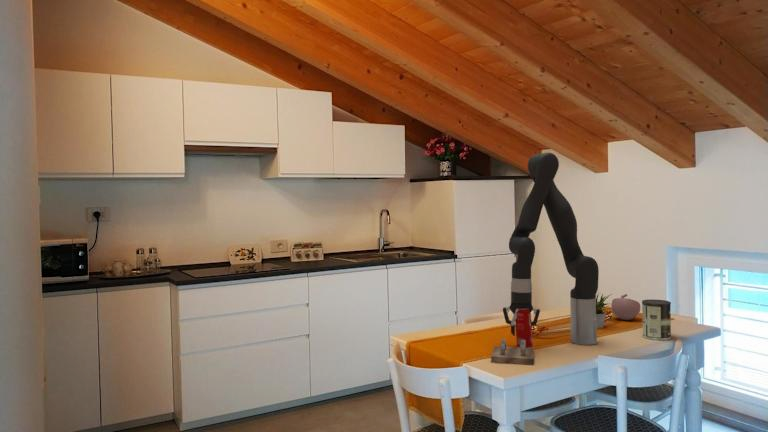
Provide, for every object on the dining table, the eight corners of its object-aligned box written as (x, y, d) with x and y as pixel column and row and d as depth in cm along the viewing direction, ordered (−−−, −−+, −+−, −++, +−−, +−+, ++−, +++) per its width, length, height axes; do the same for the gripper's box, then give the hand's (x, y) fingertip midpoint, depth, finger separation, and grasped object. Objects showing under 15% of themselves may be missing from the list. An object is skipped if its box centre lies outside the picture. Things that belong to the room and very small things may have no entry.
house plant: (570, 327, 243) (569, 289, 243) (585, 321, 253) (584, 285, 253) (602, 332, 233) (602, 292, 233) (617, 326, 243) (616, 288, 242)
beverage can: (533, 349, 209) (533, 309, 208) (514, 349, 210) (515, 308, 209) (532, 345, 214) (532, 306, 214) (514, 344, 216) (514, 305, 215)
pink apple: (642, 318, 257) (642, 293, 257) (638, 323, 247) (638, 297, 247) (614, 316, 264) (614, 291, 263) (609, 321, 254) (608, 295, 253)
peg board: (534, 353, 203) (534, 338, 203) (533, 364, 190) (533, 348, 190) (494, 351, 207) (494, 336, 207) (491, 362, 194) (491, 346, 194)
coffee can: (666, 334, 227) (666, 299, 227) (674, 340, 217) (674, 304, 217) (639, 333, 230) (639, 299, 229) (645, 340, 219) (645, 303, 219)
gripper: (541, 289, 213) (540, 334, 214) (502, 287, 217) (502, 332, 218) (541, 292, 206) (540, 339, 206) (501, 290, 210) (500, 336, 210)
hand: (521, 335), depth 212 cm, fingers closed on beverage can, 4 cm apart
